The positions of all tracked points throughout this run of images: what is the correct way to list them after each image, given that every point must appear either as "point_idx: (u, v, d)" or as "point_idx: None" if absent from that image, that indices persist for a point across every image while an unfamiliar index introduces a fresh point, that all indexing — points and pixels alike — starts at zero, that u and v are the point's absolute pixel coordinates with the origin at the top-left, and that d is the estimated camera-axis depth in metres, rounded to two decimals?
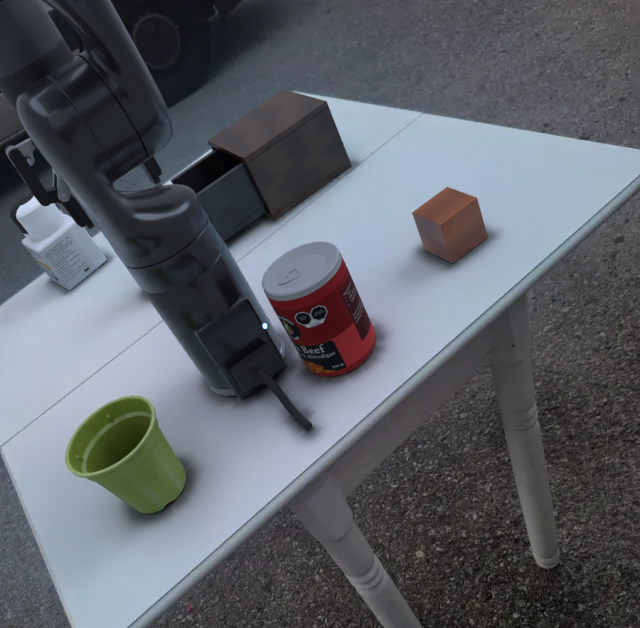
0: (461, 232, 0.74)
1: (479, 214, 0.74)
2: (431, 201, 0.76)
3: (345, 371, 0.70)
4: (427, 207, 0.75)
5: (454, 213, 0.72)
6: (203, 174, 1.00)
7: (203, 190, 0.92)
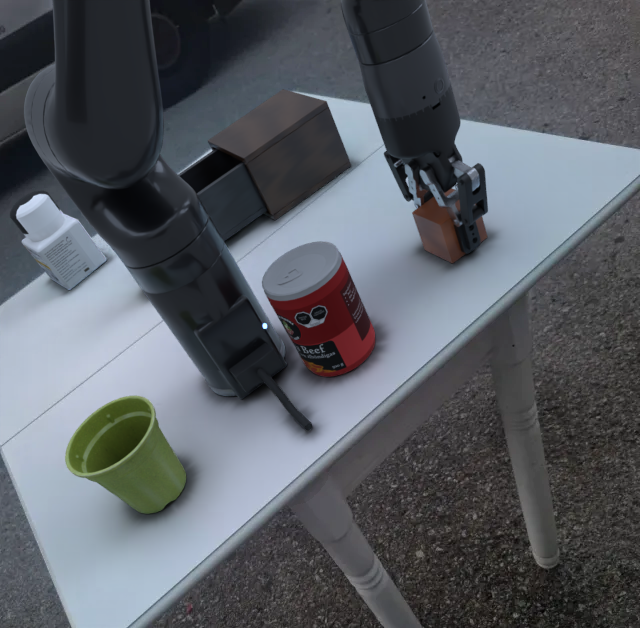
0: None
1: None
2: (431, 201, 0.76)
3: (345, 371, 0.70)
4: (427, 207, 0.75)
5: None
6: (203, 174, 1.00)
7: (203, 190, 0.92)
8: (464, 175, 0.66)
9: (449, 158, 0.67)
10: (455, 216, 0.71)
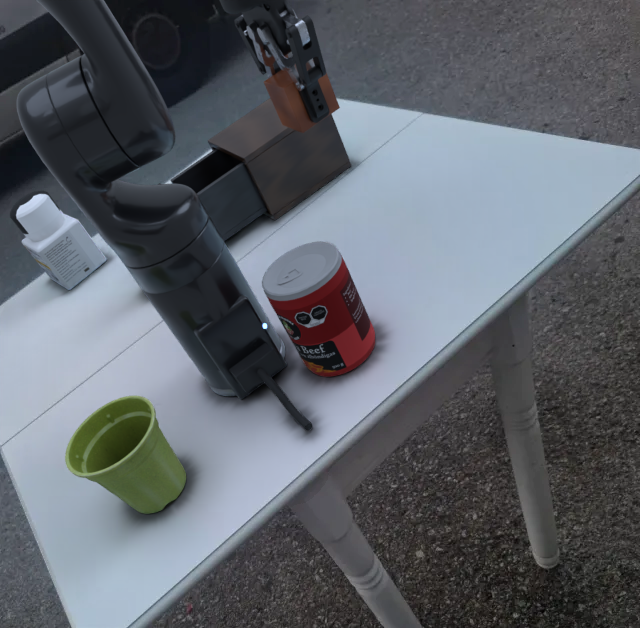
0: None
1: (327, 81, 0.74)
2: (282, 70, 0.75)
3: (345, 371, 0.70)
4: (278, 76, 0.75)
5: None
6: (203, 174, 1.00)
7: (203, 190, 0.92)
8: (291, 26, 0.66)
9: (280, 12, 0.67)
10: (296, 78, 0.71)
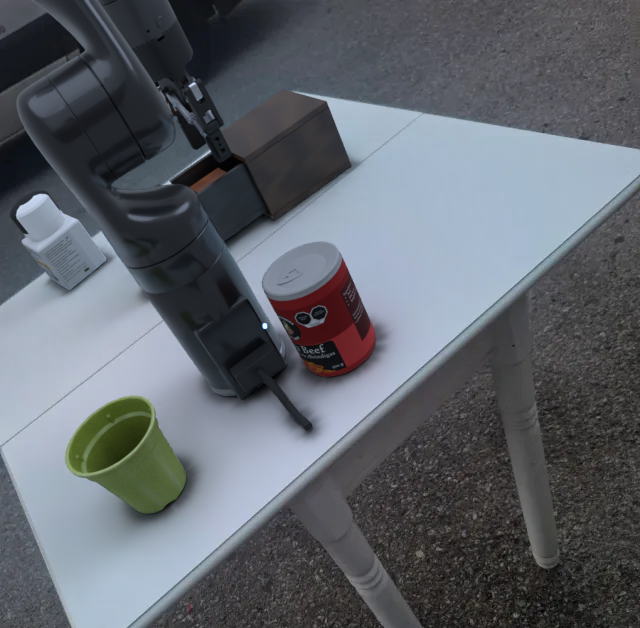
0: None
1: None
2: None
3: (345, 371, 0.70)
4: None
5: None
6: (202, 175, 1.00)
7: (202, 191, 0.92)
8: (185, 87, 0.83)
9: (182, 82, 0.85)
10: (200, 128, 0.88)
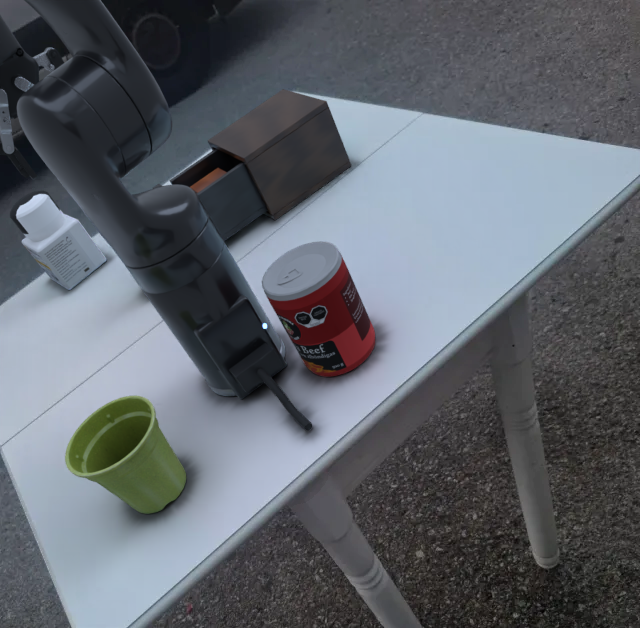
0: None
1: None
2: None
3: (345, 371, 0.70)
4: None
5: None
6: (202, 175, 1.00)
7: (202, 191, 0.92)
8: (50, 49, 0.80)
9: None
10: None
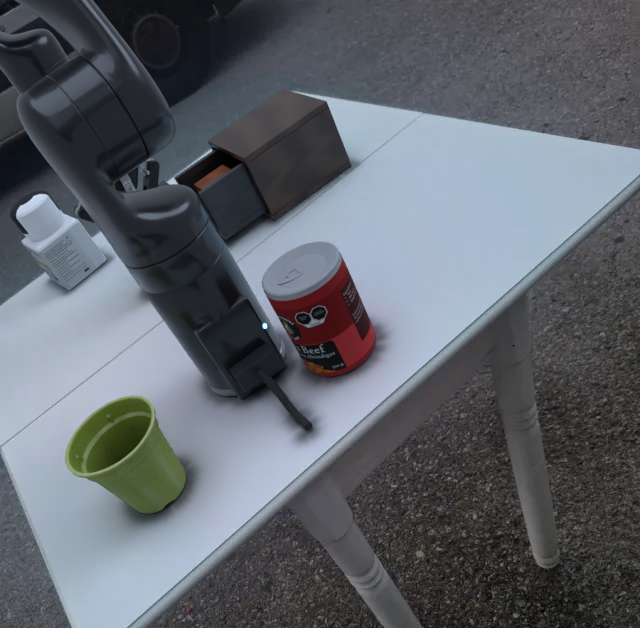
0: None
1: None
2: None
3: (345, 371, 0.70)
4: None
5: None
6: (207, 171, 1.00)
7: (207, 187, 0.92)
8: (154, 160, 0.91)
9: None
10: None
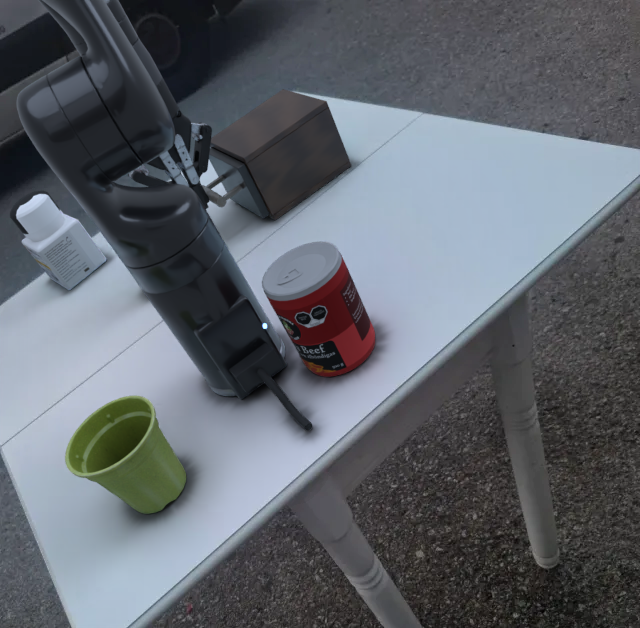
0: None
1: None
2: None
3: (345, 371, 0.70)
4: None
5: None
6: None
7: None
8: (206, 124, 0.92)
9: None
10: (193, 174, 0.94)
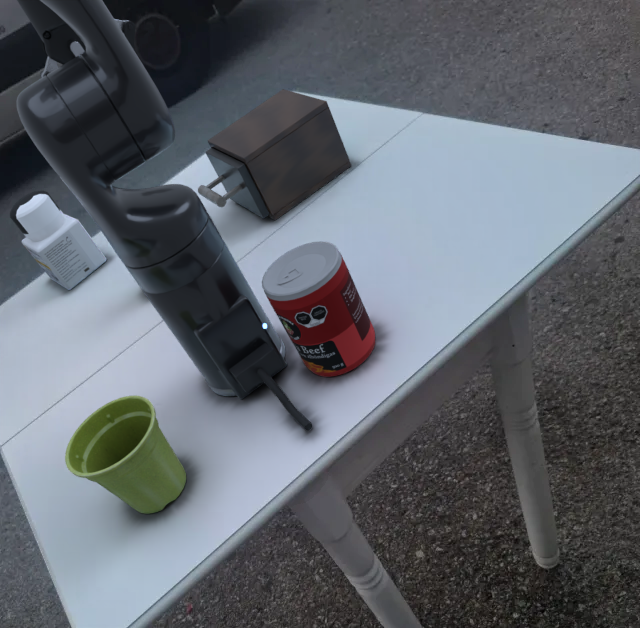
0: None
1: None
2: None
3: (345, 371, 0.70)
4: None
5: None
6: None
7: None
8: (129, 21, 0.82)
9: None
10: None
